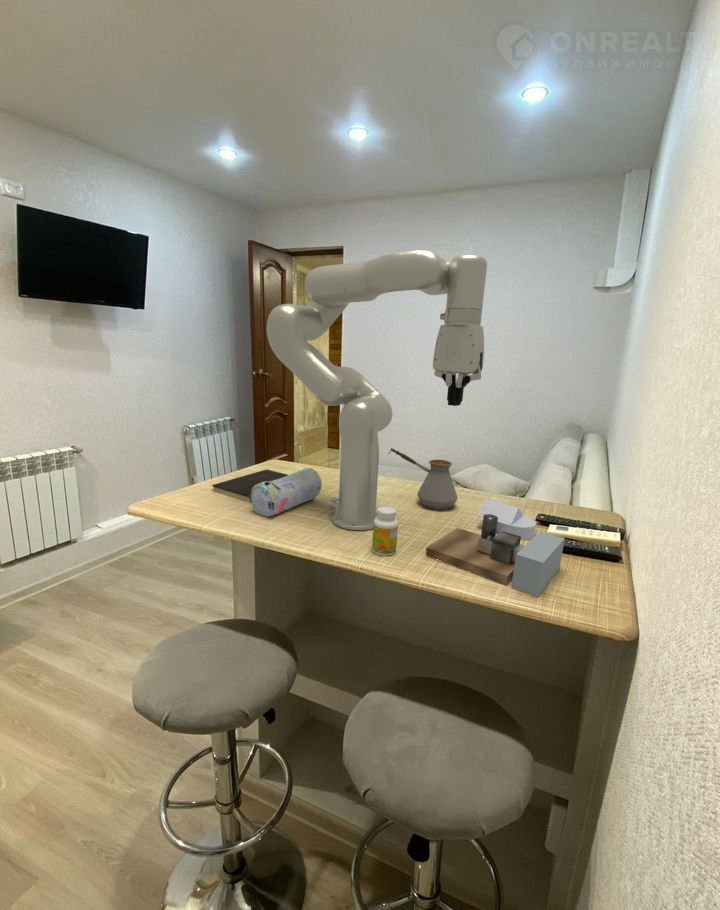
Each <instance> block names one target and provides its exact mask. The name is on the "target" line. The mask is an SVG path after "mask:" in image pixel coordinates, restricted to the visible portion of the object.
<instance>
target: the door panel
mask: <svg viewBox="0 0 720 910" xmlns="http://www.w3.org/2000/svg"><path fill="white" fill-rule="evenodd" d="M480 536H481V534H479V533H475V532H472V531H468V530H466V529H462V528H460V527H456V528H454V530H452V531H450V532H448V533H447V534H445V535H444V536H441V537H440V538H439V539H437V540H436V541H434V542H433V543H431V544H430V545H428V546H427V547H426V549H425V556H426V555H427V556H426V557H428V556H430V557H433V558H435V559H434V560H436V559H438V560H441V561H443V562H442V563H444V562H445V563H444V564H447V563H448V564H447V565H449V564H451V565H450V566H452V565H454V566H453V567H455V566H456V567H455V568H457V567H459V568H458V569H460V568H461V569H460V570H463V569H464V570H463V571H466V570H467V571H466V572H468V571H470V572H469V573H471V572H472V574H474V573H475V574H474V575H476V574H478V575H477V576H479V575H480V577H482V576H483V578H485V579H487V578H489V579H488V580H490V579H491V580H490V581H493V580H494V581H493V582H495V581H496V582H495V583H498V584H501V585H503V586H507V585H508V584H510V582H512V579H513V572H514V565H515V563H514V562H511V556H512V549H513V547H514V546H515V545H516V544H517V543H518V544H521V541H522V540H521V536H518V535H514V534H511V533H507V532H504V531H502V532H501V533H498V534H496V537H494V538H493V539H492V547H491V554H487V553H484V552H481V551H478V550H477V547H478V539H479V537H480ZM430 557H429V558H430ZM433 558H432V559H433ZM438 560H437V561H438ZM441 561H440V562H441Z"/></svg>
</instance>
